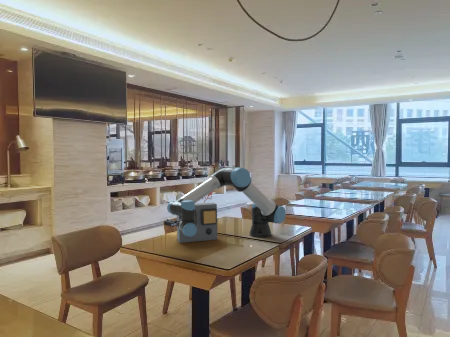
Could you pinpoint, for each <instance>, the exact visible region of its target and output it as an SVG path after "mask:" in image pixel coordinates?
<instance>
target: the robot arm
mask: <svg viewBox="0 0 450 337" xmlns="http://www.w3.org/2000/svg"><path fill="white" fill-rule="evenodd" d="M226 186H229V187H233V188H234V189H235V190H236V191H237V192H240V193H243V194H244V195H245V197H247V198H248V199H249V200H250V201H251V202H252V205H251V227H250V230H249V236H251V237H256V238H267V237H270V236H272V230H271V228H270V224H269V223H272V224H282V223H283V222H284V221H285V219H286V215H287V211H286V209H285V207H284V206H283V205H278V204H277V203H276V202H275V201H274V200H270V199H269V198H268V197H267V196H266V195H265V194H264V193H263V192H262V191H261V190H260V189H259V188H258V187H257V186H256V185H255V184H254V183H253V182H252V176H251V173H250V171H249V170H248V169H246V168H245V167H241V166H238V167H228V166H227V167H223V168H221V169H219V170H218V171H216V172H214V173H213V174H211V175H210V176H209V178H208V179H207V180H205V181H204V182H202V183H201V184H199V185H198V186H196V187H195V188H193V189H191V191H189V192H188V193H186V194H184V195H183V196H182V197H180V198H178V199H177V200H176V201H174V200H173V201H170V202H168V204H167V206H166V208H167V209H166V210H167V212H168V213H170V214H171V215H173V216H177V215H178V216H181V219H180V220H177V219H176V220H170V218H169V217H166V220H164V221H163V224H164V226H168V227H172V228H174V227H177V226H178V228H179V229H180V230H181V231H182V232H183V234H184V235H186V236H188V237H192V236H194V235H195V234H196V232H197V228H196V226H195V223H196V222H197V218H195V204H197V202H199V201H200V200H203V199H204V198H205V197H207V196H208V194H209V193H210V192H212V191H214V190H219V189H221V188H222V187H226ZM212 193H213V192H212ZM206 195H207V196H206ZM203 197H204V198H203ZM202 198H203V199H202Z"/></svg>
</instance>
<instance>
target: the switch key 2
mask: <svg viewBox="0 0 450 337" xmlns="http://www.w3.org/2000/svg"><path fill="white" fill-rule="evenodd" d="M203 223H204V224H207V223H216V211H215V210H210V211H203Z"/></svg>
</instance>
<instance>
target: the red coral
mask: <svg viewBox="0 0 450 337" xmlns="http://www.w3.org/2000/svg"><path fill="white" fill-rule="evenodd" d="M213 191H214V190H213ZM213 191H212V192H210V193H209V194H207V195H206V196H205V197H203V198H202V199H201V200H203V199H204V200H203V203H206V202H205V201H207V200H208V199H209V200H211V199H212V198H213V197H212V196H213Z"/></svg>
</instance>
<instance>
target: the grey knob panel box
mask: <svg viewBox="0 0 450 337" xmlns="http://www.w3.org/2000/svg"><path fill="white" fill-rule="evenodd" d="M210 210H215V211H216V223H207V224H204V223H203V211H210ZM195 218H197V222H196V223H195V226H196V228H197V232H196V234H195V235H194V236H192V237H188V236H186V235H184V234H183V232H182V231H181V230H180V229H179V228H178V226H176V238H177V242H178V243H179V244H180V243H183V244H184V243H191V242H202V241H203V242H204V241H212V240H214V241H215V240H218V203H215V202H205V203H204V202H203V203H202V202H201V203H195ZM180 219H181V216H178V215H176V220H180Z"/></svg>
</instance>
